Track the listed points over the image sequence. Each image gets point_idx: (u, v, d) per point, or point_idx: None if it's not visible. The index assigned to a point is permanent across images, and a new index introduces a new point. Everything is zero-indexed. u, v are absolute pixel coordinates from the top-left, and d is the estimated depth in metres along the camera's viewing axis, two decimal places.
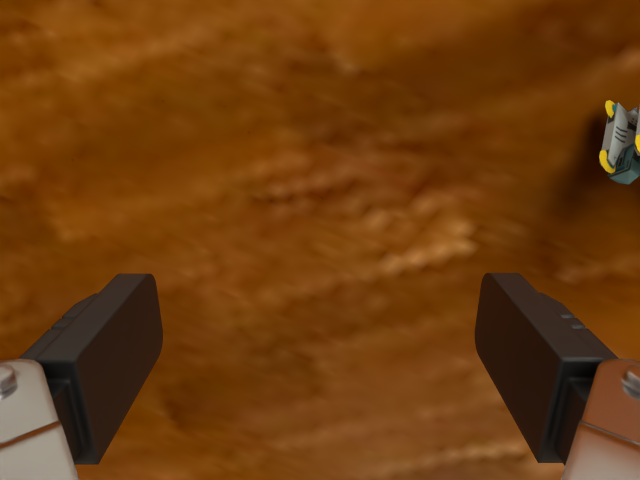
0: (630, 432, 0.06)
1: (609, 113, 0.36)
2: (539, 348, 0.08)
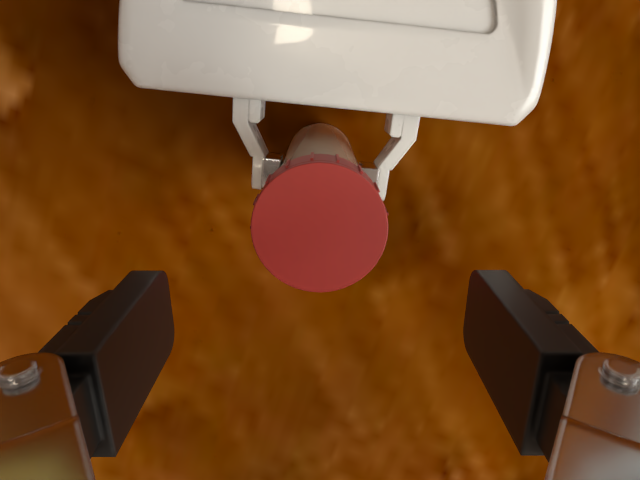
0: (609, 425, 0.06)
1: None
2: (522, 343, 0.08)
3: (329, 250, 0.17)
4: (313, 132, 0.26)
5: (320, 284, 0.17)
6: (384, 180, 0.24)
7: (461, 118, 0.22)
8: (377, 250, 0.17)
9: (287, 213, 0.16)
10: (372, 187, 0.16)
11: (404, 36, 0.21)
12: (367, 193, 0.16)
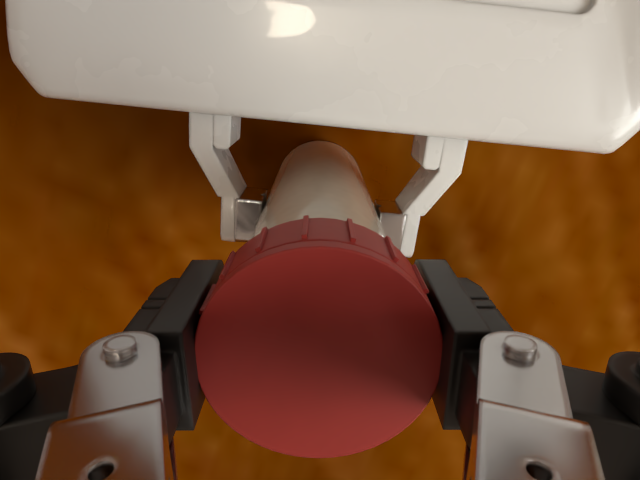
0: (518, 399, 0.06)
1: None
2: (444, 324, 0.09)
3: (337, 394, 0.09)
4: (310, 157, 0.18)
5: (320, 446, 0.10)
6: (412, 230, 0.17)
7: (532, 142, 0.15)
8: (422, 394, 0.09)
9: (259, 334, 0.09)
10: (417, 289, 0.09)
11: (451, 18, 0.13)
12: (408, 300, 0.09)
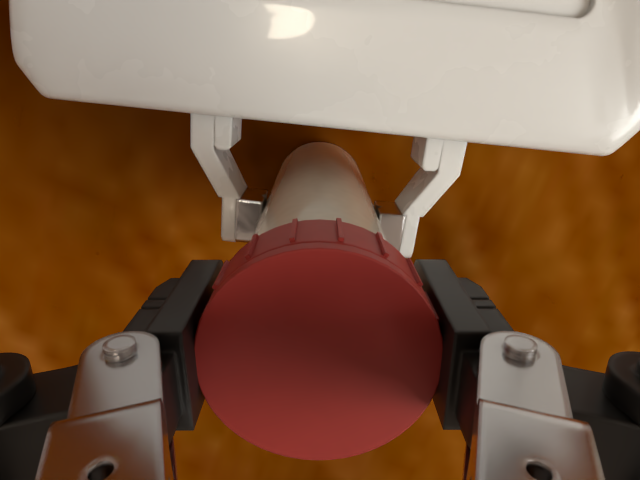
0: (518, 399, 0.06)
1: None
2: (444, 324, 0.09)
3: (358, 348, 0.09)
4: (310, 158, 0.19)
5: (426, 363, 0.09)
6: (412, 231, 0.17)
7: (530, 144, 0.15)
8: (359, 266, 0.08)
9: (286, 411, 0.09)
10: (232, 279, 0.08)
11: (450, 21, 0.13)
12: (242, 289, 0.08)
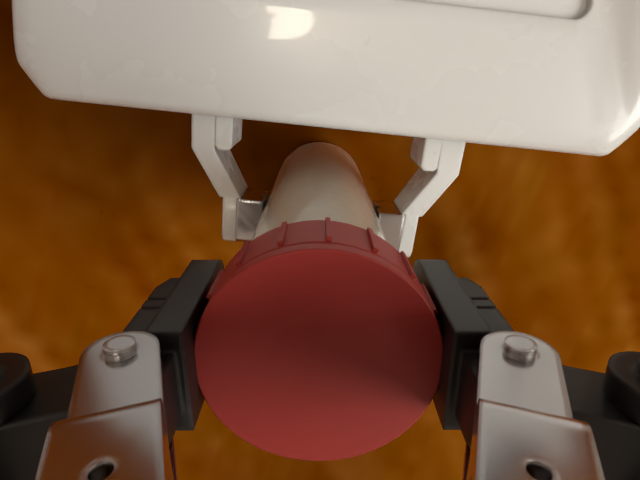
0: (518, 399, 0.06)
1: None
2: (444, 324, 0.09)
3: (299, 332, 0.09)
4: (309, 158, 0.19)
5: (316, 266, 0.08)
6: (411, 230, 0.17)
7: (528, 145, 0.15)
8: (208, 332, 0.09)
9: (374, 393, 0.09)
10: (231, 427, 0.10)
11: (449, 22, 0.14)
12: (238, 422, 0.10)
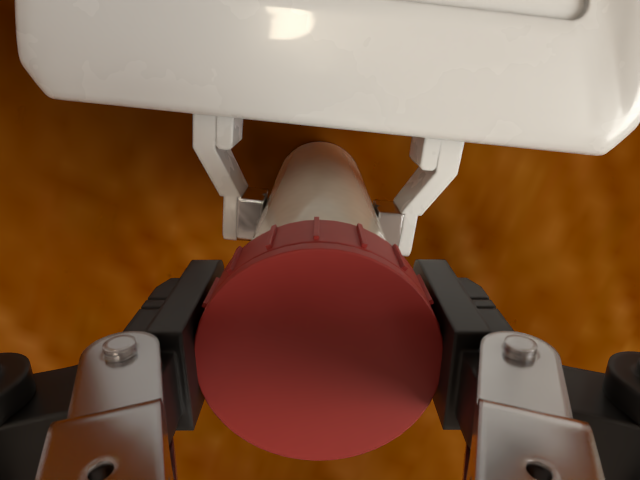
0: (518, 399, 0.06)
1: None
2: (444, 324, 0.09)
3: (280, 381, 0.09)
4: (309, 158, 0.19)
5: (210, 367, 0.09)
6: (410, 229, 0.17)
7: (526, 145, 0.15)
8: (283, 448, 0.10)
9: (353, 315, 0.09)
10: (393, 436, 0.10)
11: (447, 23, 0.14)
12: (385, 432, 0.10)
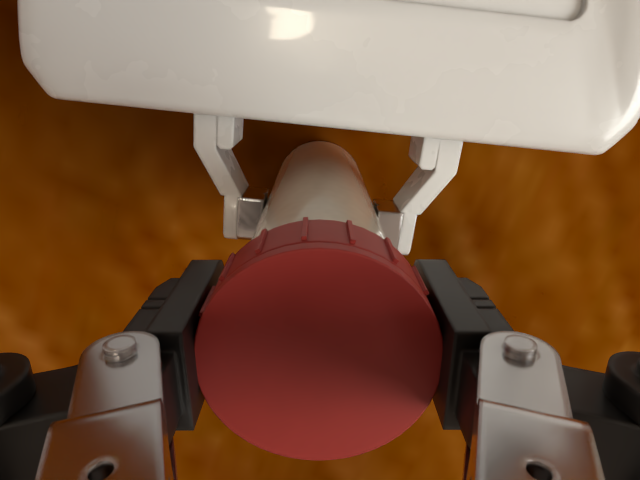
0: (518, 399, 0.06)
1: None
2: (444, 324, 0.09)
3: (337, 396, 0.09)
4: (309, 157, 0.19)
5: (320, 448, 0.10)
6: (409, 228, 0.17)
7: (524, 144, 0.15)
8: (422, 396, 0.09)
9: (259, 336, 0.09)
10: (417, 291, 0.09)
11: (446, 24, 0.14)
12: (407, 302, 0.09)
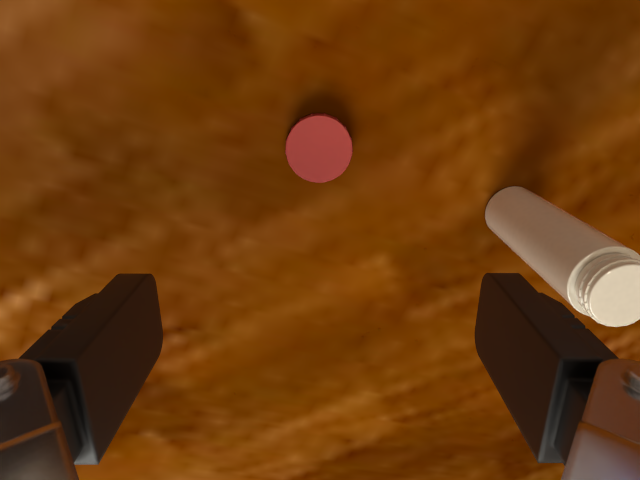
0: (630, 432, 0.06)
1: None
2: (539, 348, 0.08)
3: (329, 144, 0.34)
4: None
5: (347, 149, 0.34)
6: None
7: None
8: (329, 120, 0.33)
9: (310, 165, 0.34)
10: (297, 124, 0.33)
11: None
12: (299, 126, 0.33)
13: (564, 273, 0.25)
